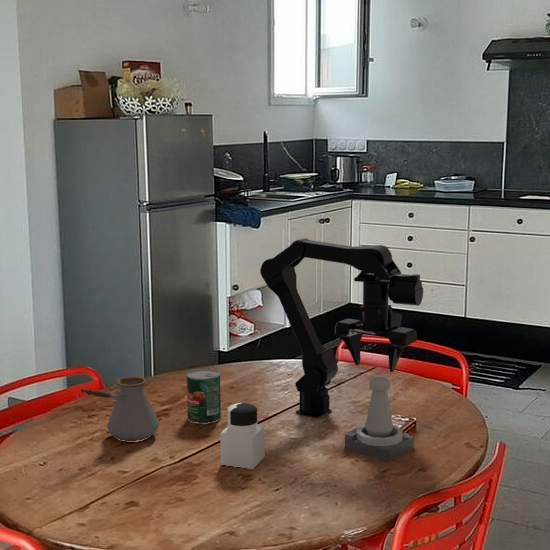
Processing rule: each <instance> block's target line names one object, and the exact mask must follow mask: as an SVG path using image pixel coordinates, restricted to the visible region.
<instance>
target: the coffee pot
mask: <svg viewBox="0 0 550 550" xmlns="http://www.w3.org/2000/svg"><path fill="white" fill-rule="evenodd" d="M146 383H147V379H146V378H144V377H140V376H139V377H138V376H130V377H129V376H127V377H122V378H119V379H117V381H116V384H117V386H118V387H119V393H118V394H113V393H108V392H105V391H101V390H92V389H90V388H89V389H86V388H84V389H80V390H79V391H77V393H76V397H77V399H79V400H84V399H85V397H86V394H87V395H88V396H90V395H92V396H94V397H96V398H99V397H100V398H108V399H109V398H110V399H115V400H116V401H115V404H114V407H112V411H111V414H110V416H109V419H108V421H107V424H106V428H107V430H108V433H109V434H110V435H111V436H113V438H115V439H116V438H118V439H120V440H125V441H136V440H142V439H145V438H148V437H149V436H151V437H152V436H153V435H154V434H155V433H156V432H157V431H158V428H159V426H160V420H159V419H158V416H157V415H156V412H155V410H154V408H153V406H152V404H151V402H150V400H149V398H148V396H147V394H146V391H145V390H144V388H145V384H146ZM80 392H81V393H82V394H84V396H83V397H82V398H79V396H78V395H79V393H80Z"/></svg>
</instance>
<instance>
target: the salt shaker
mask: <svg viewBox="0 0 550 550" xmlns="http://www.w3.org/2000/svg"><path fill="white" fill-rule="evenodd" d="M390 388H391V382H390V380H389V379H388V377H383V376H374V377H372V378H370V380H369V389H370V390H371V391H372V392H371V396H370V402H369V408H368V413H367V417H366V422H365V424H366V425H365V428H366V430H367V432H368V434H369V436H372V437H381V438H385V437H389V436H390V433H391V431H392V429H393V425H394V424H393V417H392V413H391V412H392V411H391V406H390V398H389V394H388V391H389V390H390Z"/></svg>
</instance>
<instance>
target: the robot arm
mask: <svg viewBox="0 0 550 550" xmlns="http://www.w3.org/2000/svg"><path fill="white" fill-rule="evenodd" d="M306 258H308V259H312V260H313V259H314V260H319V261H326V262H332V263H338V264H344V265H348V266H351V267H352V268H354V269H355V270H358V271H360V272H359V274H358V275H356V277H353V281H354V282H360V283H362V306H361V305H360V306H359V312H362V321H361V320H359V319H353V318H346V319H343V320H340V321H337V322H336V324H335V325H334V334H335V335H338V336H339V339H342V341H343V343H344V345H346V348H347V350H348V351H349V354H350V355H351V357H352V359H353V362H354V364H355V366H360V365H361V340H362V338H363V336H364V335H369V336H375V337H380V338H386V339H388V341H389V343H390V344H387V354H388V355H387V356H388V367H389V372H390V373H393V372H395V370H396V367H397V364H398V362H399V359H400V357H401V355H402V352H403V351H404V349H405V348H406V347H408V346H410V345H412V344H414V343H415V342H418V333H417V331H416V330H415V329H414V328H408V327H403V326H401V324H402V318H403V314H401V313H398V312H396V311H393V307H392V305H391V304H389V301H392V303H393V304H395V305H408V306H420V305H421V304H422V301H423V297H424V287H423V282H422V281H421V274H418V273H417V274H415V273H414V274H405V273H402V271H401V270H400V268H399V267H398V265H397V264H396V263H395V261H394V260H393V255H392V252H391V250H390V249H389V248H388V247H387V246H385V245H384V244H374V245H370V244H369V245H360V246H359V245H358V246H353V245H344V244H338V243H333V242H332V243H331V242H325V241H324V242H323V241H319V240H312V239H311V240H310V239H308V238H300V239H296V240H294V241H293V242H292V243H291V244H290V245H289V246H288V247H286V248H285V249H283V250H282V251H281V252H280V253H278V254H277V255H275V256H274V257H272V258H267V259H265V260H264V261H263V262H262V264H261V267H260V269H259V272H260V276H261V277H262V280H263V281H264V282H265V284H266V285H267V287H268V289H269V290H271V291H272V292H273V293H274V294H275V295H276V296H277V298H278V299H279V301H280V302H279V303H281V306H282V309H283V311H284V314H285V315H286V317H287V320H288V322H289V324H290V327H291V329H292V331H293V334H294V337H295V339H296V341H297V343H298V345H299V348H300V350H301V365H302V370H303V375H302V376H301V377H300V378H299V379H298V380H297V381H295V384H294V385H295V388H296V390H297V392H298V393H299V409H297V410H295V414H298V415H301V416H306V417H308V418H309V417H310V418H314V419H319V418H321V417H324V416H325V415H327V414H329V413H332V412H333V410H332V409H331V408H330V395H329V388H327V387H328V385H330V384H331V381H332V380H333V379H334V378H335V377H336V376H337V374H338V371H339V367H338V363H339V360H338V359H337V358H336V357H335V353H334V350H333V348H332V346H330V347H328V348H326V347H325V346H324V345H322V344H321V341H320V340H319V337H318V335H317V332H316V331H315V328H314V325H313V323H312V321H311V318H310V316H309V313H308V312H307V309H306V307H305V305H304V303H303V300H302V298H301V296H300V294H299V292H298V287H297V286H298V285H297V273H296V270H295V268H296V267H297V266H298V265H299V264H300V263H301V262H303V260H304V259H306ZM394 327H395V329H392V328H394ZM326 386H327V387H326Z"/></svg>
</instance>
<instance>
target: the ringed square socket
mask: <svg viewBox="0 0 550 550" xmlns="http://www.w3.org/2000/svg"><path fill="white" fill-rule="evenodd" d="M365 425H366V423H364V424H362V425H360V426H357V427H356V428H354V429H351V430H350V431H348V432H346V433H344V451H347V452H351V453H355V454H358V455H363V456H366V457H369V458H372V459H377V460H380V461H383V462H387V463H391V462H392V461H394V460H395V459H397V458H400V457H401V456H403V455H405V454H406V453H407V452H410V451H411V450H413V449H414V448H415V436H414V435H410V434H409V433H407V432H405V433H403V429H402V428H400V427H399V426H398V425H394V424H393V429H392V431H391V433H390V436H389V437H385V438H381V437H372V436H369V434H368V432H367V430H366V428H365Z"/></svg>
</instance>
